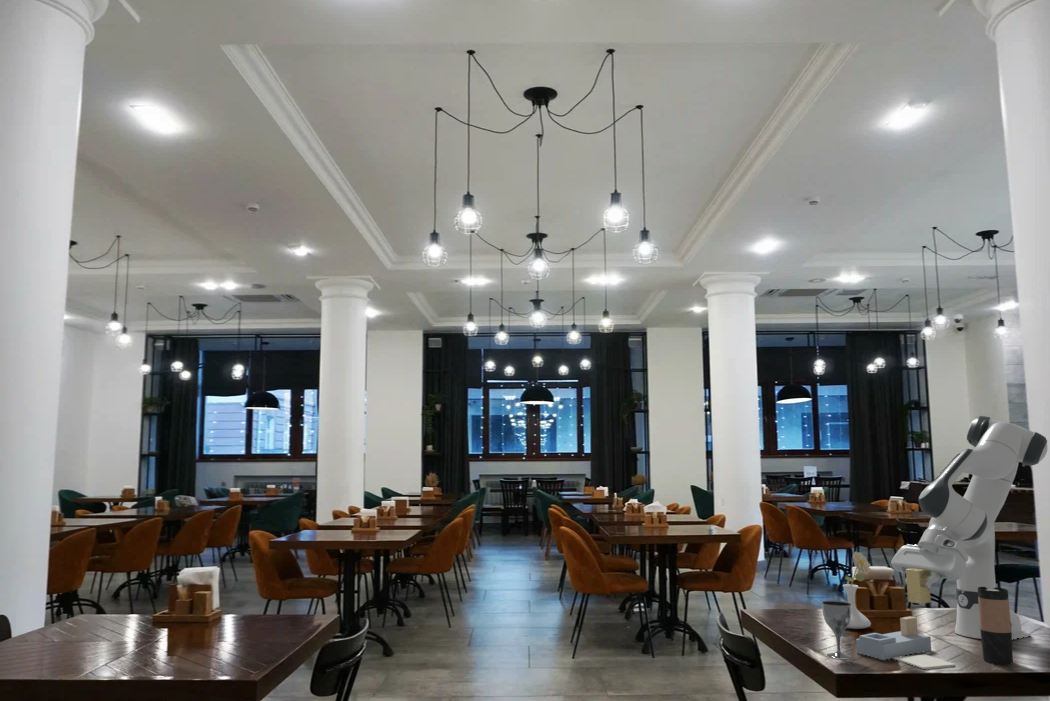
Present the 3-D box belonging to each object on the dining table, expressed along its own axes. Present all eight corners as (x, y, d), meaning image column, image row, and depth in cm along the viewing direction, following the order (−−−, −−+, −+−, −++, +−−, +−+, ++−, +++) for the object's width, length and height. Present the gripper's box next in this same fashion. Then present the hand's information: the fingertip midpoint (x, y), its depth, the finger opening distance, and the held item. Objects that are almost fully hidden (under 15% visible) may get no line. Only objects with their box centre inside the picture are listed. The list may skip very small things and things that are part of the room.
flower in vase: (848, 632, 256) (844, 554, 259) (827, 624, 267) (823, 550, 270) (883, 630, 259) (878, 553, 263) (860, 622, 270) (856, 549, 274)
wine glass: (820, 652, 230) (817, 600, 232) (847, 652, 230) (844, 600, 232) (830, 659, 222) (827, 605, 224) (858, 660, 222) (855, 605, 224)
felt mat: (924, 656, 226) (924, 654, 226) (955, 666, 215) (955, 664, 215) (893, 659, 223) (893, 657, 223) (923, 669, 212) (922, 667, 212)
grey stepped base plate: (903, 644, 240) (902, 613, 242) (931, 650, 233) (929, 619, 234) (856, 653, 230) (855, 621, 231) (883, 660, 222) (881, 627, 223)
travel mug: (1001, 666, 215) (996, 591, 218) (976, 659, 222) (971, 587, 225) (1020, 663, 218) (1014, 589, 221) (994, 657, 225) (989, 585, 228)
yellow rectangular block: (917, 600, 224) (915, 567, 225) (930, 602, 221) (928, 569, 222) (908, 601, 222) (905, 569, 223) (921, 603, 218) (918, 570, 220)
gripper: (898, 537, 236) (879, 572, 230) (964, 543, 218) (945, 582, 212) (908, 551, 237) (889, 587, 231) (974, 558, 220) (956, 597, 214)
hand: (916, 585), depth 222 cm, fingers closed on yellow rectangular block, 4 cm apart
